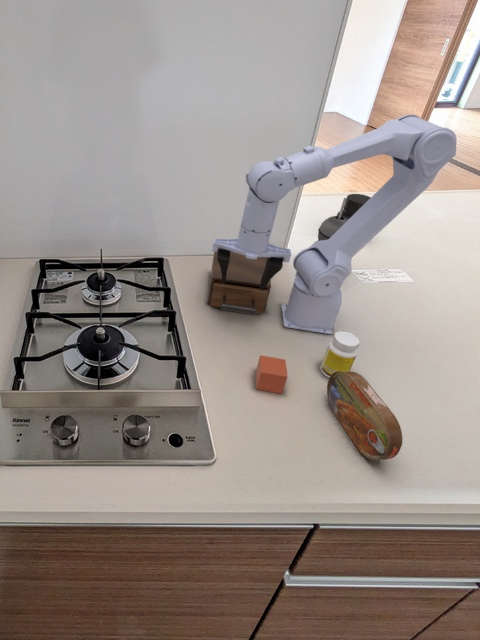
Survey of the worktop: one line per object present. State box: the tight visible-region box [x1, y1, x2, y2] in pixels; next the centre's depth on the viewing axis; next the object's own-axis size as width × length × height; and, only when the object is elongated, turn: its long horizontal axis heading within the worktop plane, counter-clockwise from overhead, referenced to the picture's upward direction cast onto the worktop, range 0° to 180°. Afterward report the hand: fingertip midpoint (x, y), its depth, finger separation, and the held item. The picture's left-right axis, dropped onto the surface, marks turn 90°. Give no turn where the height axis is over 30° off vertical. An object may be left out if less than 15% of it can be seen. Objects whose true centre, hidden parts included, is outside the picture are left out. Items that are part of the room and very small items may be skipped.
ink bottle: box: [336, 193, 372, 220], centre depth 123 cm, size 10×9×12 cm
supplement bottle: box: [319, 330, 360, 379], centre depth 80 cm, size 5×5×8 cm
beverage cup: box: [317, 197, 348, 241], centre depth 105 cm, size 7×7×20 cm
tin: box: [326, 371, 403, 462], centre depth 69 cm, size 15×3×8 cm, turn 5°
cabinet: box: [207, 251, 272, 314], centre depth 102 cm, size 13×12×7 cm
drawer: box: [209, 281, 268, 316], centre depth 99 cm, size 17×11×6 cm, turn 165°
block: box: [255, 354, 288, 395], centre depth 79 cm, size 4×4×4 cm
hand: (242, 284), depth 90 cm, fingers open, 7 cm apart
